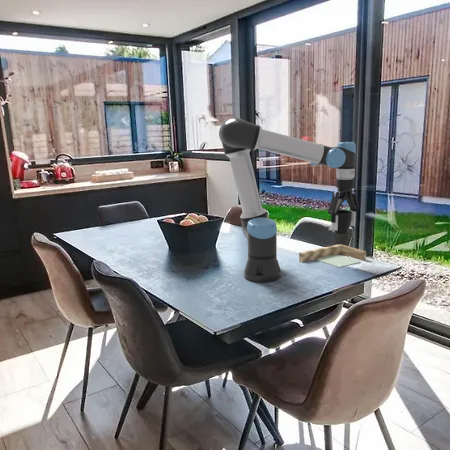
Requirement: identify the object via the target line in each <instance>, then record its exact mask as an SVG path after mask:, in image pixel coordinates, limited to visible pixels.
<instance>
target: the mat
mask: <svg viewBox="0 0 450 450" xmlns="http://www.w3.org/2000/svg"><path fill="white" fill-rule="evenodd" d="M314 260H315V261H318V262H321V263H324V264H327V265H330V266H333V267H336V268H343V267H348V266H351V265H356V264H360V263H361V261H359V260H357V259H356V260H355V259H354V258H353V259H352V258H351V257H346V256H344V255H343V256H342V255H341V254H335V255H331V256H326V257H322V258H317V259H314Z"/></svg>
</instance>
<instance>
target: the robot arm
mask: <svg viewBox="0 0 450 450" xmlns="http://www.w3.org/2000/svg"><path fill="white" fill-rule="evenodd" d="M218 137H219V139H220V140H219V141H220V142H221V144H222V148H223V153H224V155H225V156H226V157H228V159H229V163H230V167H231V171H232V174H233V178H234V179H233V180H234V182H235V187H236V190H237V194H238V198H239V202H240V203H239V204H240V207H241V211H242V212H241V214H240V216H239V217H240V222H241V226H242V229H241V230H242V233H243V235H244V237H245V239H246V241H247V261H246V264H245V267H244V271H243V277H244V278H245V279H246V280H248V281H250V282H257V283H267V282H274V281H277V280H279V279H280V278H281V277H282V271H281V268H280V263H279V262H278V261H279V260H278V257H277V247H278V246H277V244H278V243H277V239H278V238H277V234H278V233H277V232H278V227H277V223H276V221H275V219H274V220H273V219H272V218H269V216H268V212H267V210H266V209H265V208H263V206H262V202H261V198H260V193H259V189H258V186H257V181H256V176H255V172H254V171H255V170H254V168H253V164H252V159H251V155H250V152H251V151H255V150H257V149H258V150H262V151H266V152H268V153H269V152H270V153H272V154H273V153H274V154H277V155H281V156H285V157H290V158H292V159H296V160H297V159H298V160H300V161H301V160H302V161H305V162H309V164H310V165H311V166H317V167H318V166H323V167H328V168H331V169H336V174H335V175H336V176H335V177H336V178H337V179H336V182H335V187H336V188H337V191H332V194H331V195H332V197H331V200H330V203H329V206H328V210H327V211H328V212H327V214H328V215H331V216H330V217H331V218H330V222H331V224H330V225H331V227H330V229H331V230H332V231H334V230H338V215H337V213H338V211H339V210H341V206H342V204H343V203H344V202H345V201H346V203H347V205H348V208H349V210H350V211H352V220H351V225H350V227H355V226H356V217H357V215H356V214H357V213H358V212H359V209H360V206H359V205H360V204H359V201H358V200H359V199H358V194H357V193H358V192H357V188H355V179H354V178H355V174H356V173H355V172H356V171H355V170H356V158H357V148H356V147H357V145H356V143H355V142H354V141H343V142H341V141H340V142H338V143H337V146H327V145H324V144H321V143H320V144H319V143H316V142H312V141H309V140H304V139H302V138H298V137H297V138H296V137H293V136H289V135H286V134H282V133H277V132H275V131H270V130H267V129H263V128H262V126H261V125H258V124H255V123H252V122H249V121H247V120H246V119H245V120H244V119H242V118H238V117H234V118H230V119H227V120H226V121H224V122H223V123H222V124H221V125H220V127H219V131H218Z"/></svg>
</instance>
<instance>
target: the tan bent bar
mask: <svg viewBox="0 0 450 450" xmlns="http://www.w3.org/2000/svg"><path fill="white" fill-rule="evenodd" d="M335 254H337V255H343V256H345V257H346V256H347V257H349V256H351V257H350V258H353V259H356V260H358V261H359V260H360V261H362V260H363V261H366V259H367V251H366V250H363V249H359V248H355V247H352V246H348V245H344V244H341V243H340V244H334V245H330V246H324V247H321V248H320V247H319V248H315V249H314V248H313V249H309V250H306V251H305V250H304V251H300V252H298V261H299V262H301V263H304V262H308V261H312V260H315V259H317V258H322V257H326V256H331V255H335Z"/></svg>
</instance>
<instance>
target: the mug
mask: <svg viewBox="0 0 450 450" xmlns="http://www.w3.org/2000/svg"><path fill="white" fill-rule="evenodd" d="M337 215H338V230H333V231H334V234H337V235H347V234H348V233H349V230H350V227H351V226H350V225H351V220H352V211H351V210H347V209H339V211H338V213H337Z"/></svg>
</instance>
